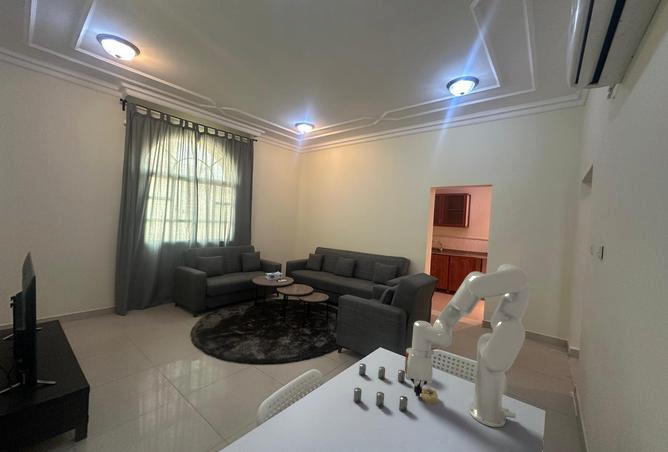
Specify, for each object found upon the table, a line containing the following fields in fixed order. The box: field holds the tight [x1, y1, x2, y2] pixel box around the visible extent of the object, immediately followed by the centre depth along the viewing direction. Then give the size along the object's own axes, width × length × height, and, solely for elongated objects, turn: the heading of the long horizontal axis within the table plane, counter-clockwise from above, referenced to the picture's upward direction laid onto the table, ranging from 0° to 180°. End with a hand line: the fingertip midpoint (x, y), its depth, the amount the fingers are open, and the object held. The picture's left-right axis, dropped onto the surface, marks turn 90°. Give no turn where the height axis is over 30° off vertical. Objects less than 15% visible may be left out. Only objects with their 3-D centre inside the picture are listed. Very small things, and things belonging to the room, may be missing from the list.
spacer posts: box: [353, 363, 408, 413], centre depth 121 cm, size 21×23×4 cm
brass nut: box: [420, 387, 439, 405], centre depth 118 cm, size 7×6×3 cm
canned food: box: [404, 347, 412, 375], centre depth 137 cm, size 8×8×11 cm
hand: (417, 394), depth 118 cm, fingers closed
